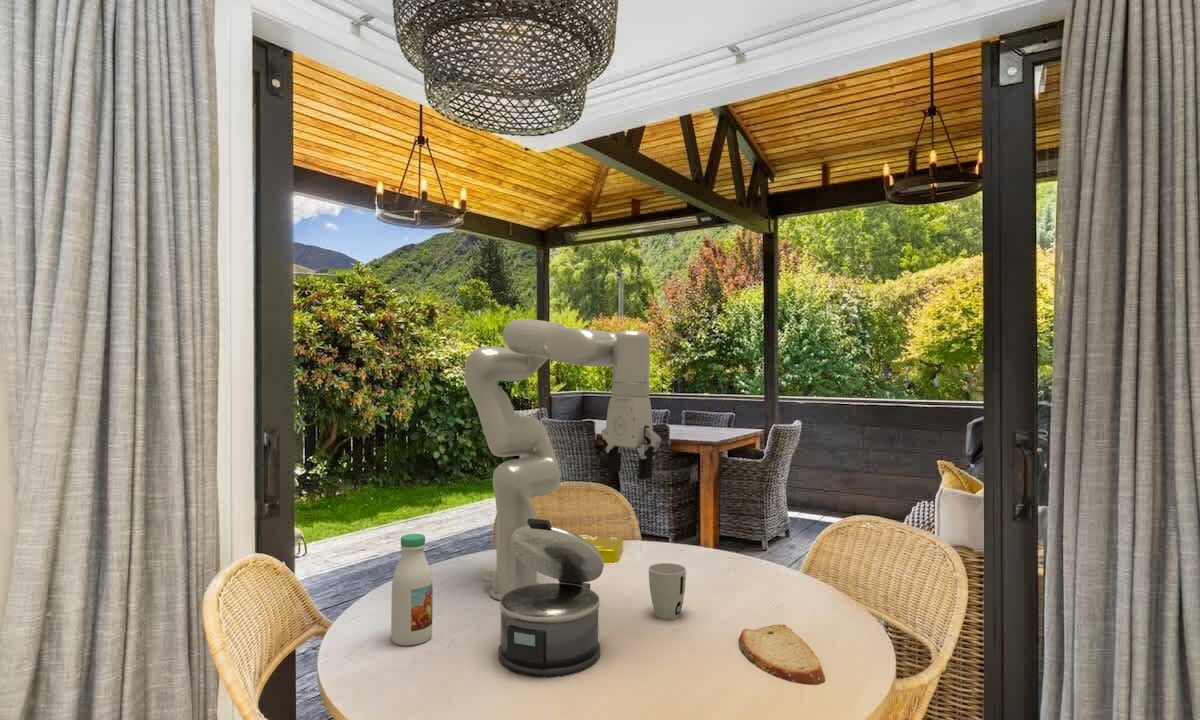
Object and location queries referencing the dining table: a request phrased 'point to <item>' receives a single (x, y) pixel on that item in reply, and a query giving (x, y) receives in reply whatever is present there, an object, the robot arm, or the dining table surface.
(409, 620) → the milk bottle
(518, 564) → the robot arm
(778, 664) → the slice of bread
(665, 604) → the cup
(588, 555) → the lid
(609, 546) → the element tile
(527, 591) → the pot
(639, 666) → the dining table surface
